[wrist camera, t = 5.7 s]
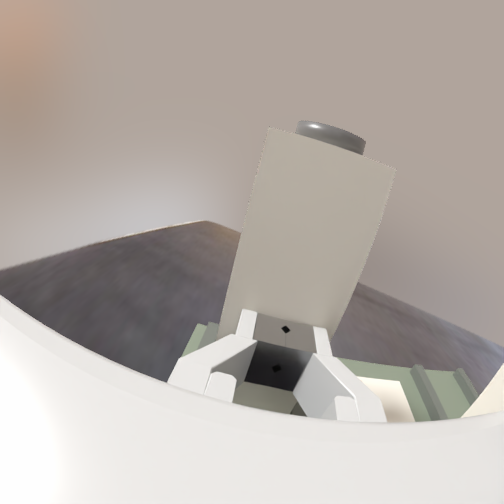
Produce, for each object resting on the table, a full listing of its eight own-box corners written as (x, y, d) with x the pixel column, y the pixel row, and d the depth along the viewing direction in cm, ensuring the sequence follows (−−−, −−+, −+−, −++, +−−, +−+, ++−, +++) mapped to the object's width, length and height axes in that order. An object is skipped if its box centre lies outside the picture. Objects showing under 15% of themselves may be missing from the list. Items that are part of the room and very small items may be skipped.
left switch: (281, 426, 11) (401, 151, 7) (200, 407, 11) (273, 107, 7) (283, 385, 14) (371, 152, 10) (213, 368, 14) (275, 122, 10)
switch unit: (497, 464, 8) (513, 450, 7) (134, 467, 8) (130, 452, 7) (454, 379, 18) (465, 365, 17) (195, 334, 18) (199, 314, 18)
